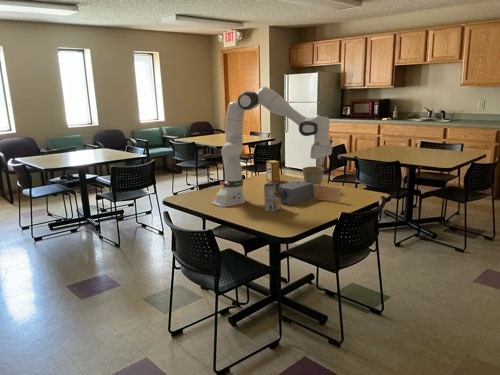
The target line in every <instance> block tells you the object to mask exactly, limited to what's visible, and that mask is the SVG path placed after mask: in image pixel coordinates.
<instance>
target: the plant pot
mask: <svg viewBox="0 0 500 375" xmlns="http://www.w3.org/2000/svg"><path fill="white" fill-rule="evenodd" d="M301 170H302V175H303V181H304V182H309V183H313V184H317V185H322V181H323V177H324V171H325V168H324V167H322V166H306V167H303V168H302V169H301Z"/></svg>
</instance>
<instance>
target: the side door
mask: <svg viewBox="0 0 500 375" xmlns="http://www.w3.org/2000/svg"><path fill="white" fill-rule="evenodd" d="M312 199H319V200H324V201H331V202H337V203H341V187H339V186H338V187H337V186H330V185H324V184H323V185H322V184H321V185H317V184H313V198H312Z"/></svg>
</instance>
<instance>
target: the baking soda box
mask: <svg viewBox="0 0 500 375" xmlns="http://www.w3.org/2000/svg"><path fill="white" fill-rule="evenodd" d="M265 162H266V163H265V164H266V165H265V166H266V168H265V169H266V172H265V173H266V181H267V182H268V183H270V182H280V181H281V179H280V161H277V160H266V161H265ZM280 183H281V182H280Z"/></svg>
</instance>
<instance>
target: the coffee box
mask: <svg viewBox="0 0 500 375" xmlns="http://www.w3.org/2000/svg"><path fill="white" fill-rule="evenodd" d="M280 185H281V182H267V183H265V184H264V185H263V188H264V196H263V197H264V211H267V212H273V213H274V212H277V211H278V210H280V209H281V208H282V203H281V188H280Z"/></svg>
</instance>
